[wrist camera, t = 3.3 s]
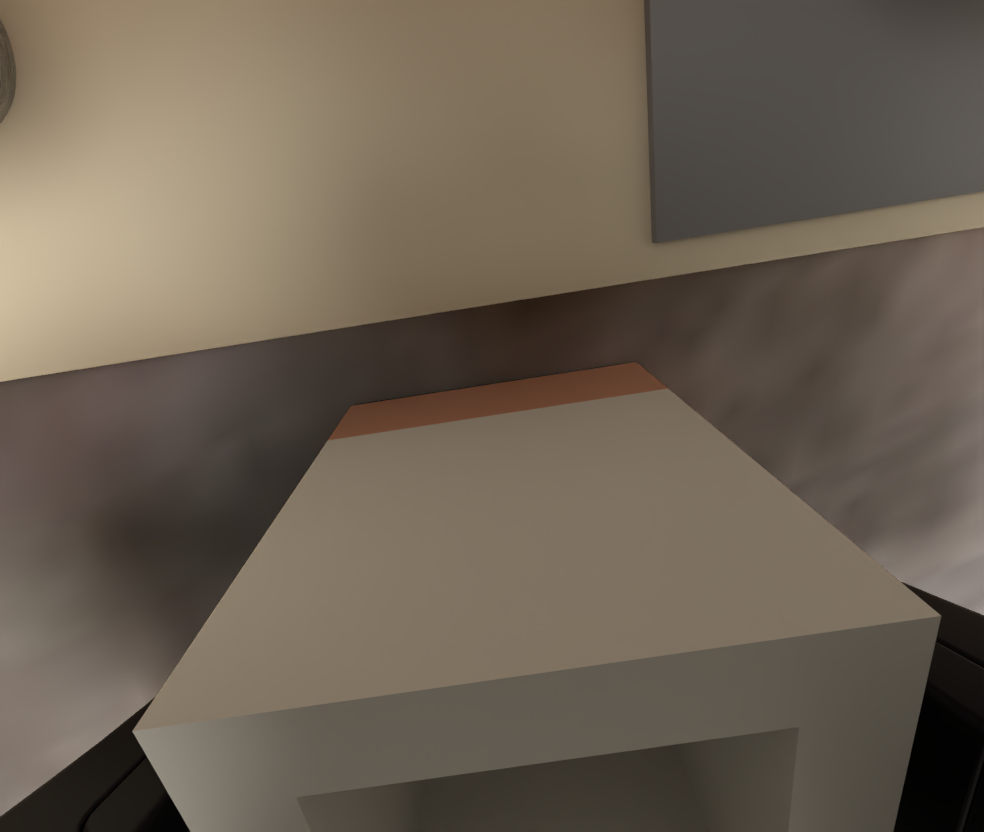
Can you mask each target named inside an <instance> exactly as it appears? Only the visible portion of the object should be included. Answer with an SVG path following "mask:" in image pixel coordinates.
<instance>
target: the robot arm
mask: <svg viewBox="0 0 984 832" xmlns="http://www.w3.org/2000/svg"><path fill="white" fill-rule="evenodd" d="M901 583H903V582H901ZM903 584H904V585H905V586H906V587H907V588H909V589H910V590H911V591H912V592H913V593H915V594H916V595H917V596H918V597H919V598H921V599H922V600H923V601H924V602H925V603H927V604H928V605H929V606H930V607H931V608H933V609H934V610H935V611H936V612H937V613H939V614H940V615H941V620H940V624H939V629H938V633H937V638H936V642H935V647H934V651H933V656H932V660H931V665H930V669H929V674H928V678H927V683H926V687H925V692H924V696H923V700H922V705H921V709H920V714H919V718H918V723H917V727H916V732H915V736H914V741H913V745H912V750H911V754H910V759H909V763H908V768H907V772H906V777H905V781H904V786H903V790H902V795H901V799H900V804H899V808H898V813H897V817H896V822H895V826H894V831H893V832H984V615H981V614H979V613H976V612H974V611H971V610H969V609H966V608H964V607H961V606H959V605H956V604H954V603H951V602H949V601H947V600H944V599H942V598H939V597H937V596H934V595H932V594H929V593H927V592H925V591H922V590H920V589H918V588H915V587H913V586H911V585H908V584H906V583H903ZM153 700H154V698H153V699H152V700H151V701H150V702H149V703H147V704H146V705H145V706H144V707H143V708H141V709H140V710H139V711H138V712H136V713H135V714H134V715H133V716H131V717H130V718H129V719H128V720H126V721H125V722H124V723H123V724H121V725H120V726H119V727H118V728H117V729H115V730H114V731H113V732H112V733H110V734H109V735H108V736H107V737H105V738H104V739H103V740H102V741H100V742H99V743H98V744H96V745H95V746H94V747H92V748H91V749H90V750H89V751H87V752H86V753H85V754H83V755H82V756H81V757H79V758H78V759H77V760H75V761H74V762H73V763H71V764H70V765H69V766H67V767H66V768H65V769H63V770H62V771H61V772H60V773H58V774H57V775H56V776H54V777H53V778H52V779H50V780H49V781H48V782H46V783H45V784H44V785H42V786H41V787H40V788H38V789H37V790H36V791H34V792H33V793H32V794H30V795H29V796H28V797H26V798H25V799H24V800H22V801H21V802H19V803H18V804H17V805H15V806H14V807H13V808H11V809H10V810H9V811H7V812H6V813H5V814H3V815H2V816H1V817H0V832H190V830H189V828H188V827H187V825H186V823H185V821H184V820H183V818H182V816H181V814H180V813H179V811H178V809H177V808H176V806H175V804H174V802H173V801H172V799H171V797H170V795H169V794H168V792H167V790H166V789H165V787H164V785H163V783H162V782H161V780H160V778H159V776H158V775H157V773H156V771H155V770H154V768H153V766H152V764H151V763H150V761H149V759H148V757H147V756H146V754H145V752H144V751H143V749H142V747H141V745H140V744H139V742H138V740H137V739H136V737H135V735H134V733H133V732H132V731H133V730H134V728H135V727H136V725H137V724H138V722H139V721H140V719H141V718H142V716H143V715H144V713H145V712H146V710H147V709H148V707H149V706H150V704H151V703H152V701H153Z"/></svg>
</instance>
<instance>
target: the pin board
mask: <svg viewBox="0 0 984 832" xmlns="http://www.w3.org/2000/svg"><path fill="white" fill-rule="evenodd" d="M0 19H1V21H2V23H3V25H4V27H5V29H6V32H7V34H8V37H9V40H10V43H11V46H12V50H13V54H14V59H15V67H16V87H15V94H14V98H13V102H12V105H11V107H10V109H9V111H8V113H7V115H6V116H5V118H4V119H3V121H2V122H1V123H0V382H2V381H8V380H14V379H21V378H27V377H33V376H40V375H46V374H53V373H59V372H65V371H72V370H78V369H84V368H91V367H97V366H103V365H110V364H116V363H123V362H129V361H135V360H142V359H148V358H154V357H161V356H167V355H173V354H180V353H186V352H193V351H199V350H205V349H212V348H218V347H224V346H231V345H237V344H243V343H250V342H256V341H263V340H269V339H275V338H282V337H288V336H294V335H301V334H307V333H313V332H320V331H326V330H333V329H339V328H345V327H352V326H358V325H364V324H371V323H377V322H383V321H390V320H396V319H403V318H409V317H415V316H422V315H428V314H434V313H441V312H447V311H453V310H460V309H466V308H473V307H479V306H485V305H492V304H498V303H504V302H511V301H517V300H523V299H530V298H536V297H543V296H549V295H555V294H562V293H568V292H574V291H581V290H587V289H593V288H600V287H606V286H613V285H619V284H625V283H632V282H638V281H644V280H651V279H657V278H663V277H670V276H676V275H683V274H689V273H695V272H702V271H708V270H714V269H721V268H727V267H733V266H740V265H746V264H753V263H759V262H765V261H772V260H778V259H784V258H791V257H797V256H803V255H810V254H816V253H823V252H829V251H835V250H842V249H848V248H854V247H861V246H867V245H874V244H880V243H886V242H893V241H899V240H905V239H912V238H918V237H924V236H931V235H937V234H944V233H950V232H956V231H963V230H969V229H975V228H982V227H984V0H0Z"/></svg>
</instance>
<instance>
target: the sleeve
mask: <svg viewBox="0 0 984 832" xmlns="http://www.w3.org/2000/svg"><path fill="white" fill-rule="evenodd" d="M940 620H941V615H940V614H939V613H937V612H936V611H935V610H934V609H933V608H931V607H930V606H929V605H928V604H927V603H925V602H924V601H923V600H922V599H921V598H919V597H918V596H917V595H916V594H915V593H913V592H912V591H911V590H910V589H909V588H907V587H906V586H905V585H904V584H903V583H901V582H900V581H899V580H898V579H897V578H895V577H894V576H893V575H892V574H891V573H889V572H888V571H887V570H886V569H884V568H883V567H882V566H881V565H880V564H878V563H877V562H876V561H875V560H874V559H872V558H871V557H870V556H869V555H868V554H866V553H865V552H864V551H863V550H862V549H860V548H859V547H858V546H857V545H856V544H854V543H853V542H852V541H851V540H850V539H848V538H847V537H846V536H845V535H844V534H842V533H841V532H840V531H839V530H838V529H836V528H835V527H834V526H833V525H832V524H830V523H829V522H828V521H827V520H826V519H824V518H823V517H822V516H821V515H820V514H818V513H817V512H816V511H815V510H814V509H812V508H811V507H810V506H809V505H808V504H806V503H805V502H804V501H803V500H802V499H800V498H799V497H798V496H797V495H796V494H794V493H793V492H792V491H791V490H790V489H788V488H787V487H786V486H785V485H784V484H782V483H781V482H780V481H779V480H778V479H776V478H775V477H774V476H773V475H772V474H770V473H769V472H768V471H767V470H766V469H764V468H763V467H762V466H761V465H759V464H758V463H757V462H756V461H755V460H753V459H752V458H751V457H750V456H749V455H747V454H746V453H745V452H744V451H743V450H741V449H740V448H739V447H738V446H737V445H735V444H734V443H733V442H732V441H731V440H729V439H728V438H727V437H726V436H725V435H723V434H722V433H721V432H720V431H719V430H717V429H716V428H715V427H714V426H713V425H711V424H710V423H709V422H708V421H707V420H705V419H704V418H703V417H702V416H701V415H699V414H698V413H697V412H696V411H695V410H693V409H692V408H691V407H690V406H689V405H687V404H686V403H685V402H684V401H683V400H681V399H680V398H679V397H678V396H677V395H675V394H674V393H673V392H672V391H671V390H669V389H668V388H667V387H666V386H665V385H663V384H662V383H661V382H660V381H659V380H657V379H656V378H655V377H654V376H653V375H651V374H650V373H649V372H648V371H647V370H645V369H644V368H643V367H642V366H640V365H639V364H638V363H637V362H633V363H627V364H620V365H614V366H607V367H601V368H594V369H588V370H581V371H575V372H568V373H562V374H555V375H548V376H542V377H535V378H529V379H522V380H516V381H509V382H503V383H496V384H490V385H483V386H477V387H470V388H464V389H457V390H451V391H444V392H438V393H431V394H425V395H418V396H412V397H405V398H399V399H392V400H386V401H379V402H373V403H366V404H360V405H353V406H350V408H349V409H348V411H347V412H346V414H345V415H344V417H343V418H342V420H341V421H340V423H339V424H338V426H337V427H336V429H335V430H334V432H333V433H332V435H331V436H330V438H329V439H328V441H327V442H326V444H325V445H324V447H323V448H322V450H321V451H320V453H319V454H318V456H317V457H316V459H315V460H314V462H313V463H312V465H311V466H310V468H309V469H308V471H307V472H306V473H305V475H304V476H303V478H302V479H301V481H300V482H299V484H298V485H297V487H296V488H295V490H294V491H293V493H292V494H291V496H290V497H289V499H288V500H287V502H286V503H285V505H284V506H283V508H282V509H281V511H280V512H279V514H278V515H277V517H276V518H275V520H274V521H273V523H272V524H271V526H270V527H269V529H268V530H267V532H266V533H265V535H264V536H263V538H262V539H261V540H260V542H259V543H258V545H257V546H256V548H255V549H254V551H253V552H252V554H251V555H250V557H249V558H248V560H247V561H246V563H245V564H244V566H243V567H242V569H241V570H240V572H239V573H238V575H237V576H236V578H235V579H234V581H233V582H232V584H231V585H230V587H229V588H228V590H227V591H226V593H225V594H224V596H223V597H222V599H221V600H220V602H219V603H218V605H217V606H216V607H215V609H214V610H213V612H212V613H211V615H210V616H209V618H208V619H207V621H206V622H205V624H204V625H203V627H202V628H201V630H200V631H199V633H198V634H197V636H196V637H195V639H194V640H193V642H192V643H191V645H190V646H189V648H188V649H187V651H186V652H185V654H184V655H183V657H182V658H181V660H180V661H179V663H178V664H177V666H176V667H175V669H174V670H173V672H172V673H171V674H170V676H169V677H168V679H167V680H166V682H165V683H164V685H163V686H162V688H161V689H160V691H159V692H158V694H157V695H156V697H155V698H154V700H153V701H152V703H151V704H150V706H149V707H148V709H147V710H146V712H145V713H144V715H143V716H142V718H141V719H140V721H139V722H138V724H137V725H136V727H135V728H134V730H133V731H132V732H133V733H134V735H135V737H136V739H137V740H138V742H139V744H140V745H141V747H142V749H143V751H144V752H145V754H146V756H147V757H148V759H149V761H150V763H151V764H152V766H153V768H154V770H155V771H156V773H157V775H158V776H159V778H160V780H161V782H162V783H163V785H164V787H165V789H166V790H167V792H168V794H169V795H170V797H171V799H172V801H173V802H174V804H175V806H176V808H177V809H178V811H179V813H180V814H181V816H182V818H183V820H184V821H185V823H186V825H187V827H188V828H189V830H190V832H893V831H894V826H895V822H896V817H897V813H898V808H899V804H900V799H901V795H902V790H903V786H904V781H905V777H906V772H907V768H908V763H909V759H910V754H911V750H912V745H913V741H914V736H915V732H916V727H917V723H918V718H919V714H920V709H921V705H922V700H923V696H924V692H925V687H926V683H927V678H928V674H929V669H930V665H931V660H932V656H933V651H934V647H935V642H936V638H937V633H938V629H939V624H940Z"/></svg>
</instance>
